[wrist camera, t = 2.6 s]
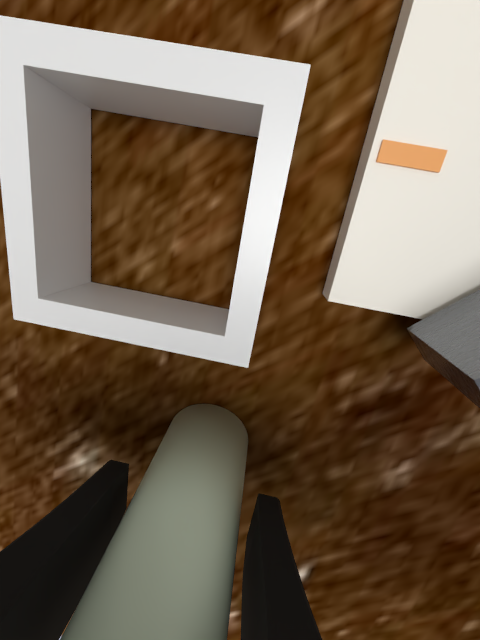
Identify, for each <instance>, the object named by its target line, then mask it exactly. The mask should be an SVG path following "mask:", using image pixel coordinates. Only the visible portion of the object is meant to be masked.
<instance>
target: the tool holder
mask: <svg viewBox="0 0 480 640" xmlns="http://www.w3.org/2000/svg"><path fill="white" fill-rule="evenodd" d="M310 66H311V65H310V64H303V63H297V62H291V61H284V60H278V59H272V58H265V57H259V56H253V55H246V54H240V53H234V52H227V51H221V50H215V49H208V48H202V47H196V46H189V45H183V44H177V43H171V42H164V41H158V40H152V39H145V38H139V37H133V36H126V35H120V34H114V33H107V32H101V31H95V30H88V29H82V28H76V27H69V26H63V25H57V24H50V23H44V22H38V21H32V20H25V19H19V18H13V17H6V16H0V179H1V190H2V201H3V211H4V222H5V232H6V243H7V254H8V264H9V275H10V285H11V296H12V306H13V317H14V319H15V320H20V321H25V322H30V323H35V324H39V325H44V326H49V327H54V328H59V329H63V330H68V331H73V332H78V333H83V334H87V335H92V336H97V337H102V338H107V339H112V340H116V341H121V342H126V343H131V344H136V345H140V346H145V347H150V348H155V349H160V350H164V351H169V352H174V353H179V354H184V355H188V356H193V357H198V358H203V359H208V360H213V361H217V362H222V363H227V364H232V365H237V366H241V367H246V368H248V366H249V361H250V356H251V351H252V346H253V341H254V337H255V332H256V327H257V322H258V317H259V312H260V308H261V303H262V298H263V293H264V288H265V283H266V279H267V274H268V269H269V264H270V259H271V254H272V249H273V245H274V240H275V235H276V230H277V225H278V220H279V216H280V211H281V206H282V201H283V196H284V191H285V187H286V182H287V177H288V172H289V167H290V162H291V158H292V153H293V148H294V143H295V138H296V133H297V129H298V124H299V119H300V114H301V109H302V104H303V100H304V95H305V90H306V85H307V80H308V75H309V70H310ZM91 109H96V110H102V111H108V112H113V113H119V114H125V115H131V116H137V117H143V118H148V119H154V120H160V121H166V122H172V123H178V124H184V125H189V126H195V127H201V128H207V129H213V130H219V131H224V132H230V133H236V134H242V135H248V136H254V137H258V142H257V148H256V154H255V160H254V166H253V172H252V178H251V184H250V190H249V196H248V202H247V207H246V213H245V219H244V225H243V231H242V237H241V243H240V249H239V255H238V261H237V267H236V272H235V278H234V284H233V290H232V296H231V302H230V308H229V309H225V308H220V307H215V306H210V305H204V304H199V303H194V302H189V301H184V300H179V299H174V298H169V297H164V296H159V295H154V294H149V293H144V292H139V291H134V290H129V289H124V288H119V287H114V286H109V285H104V284H99V283H94V282H91Z"/></svg>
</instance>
